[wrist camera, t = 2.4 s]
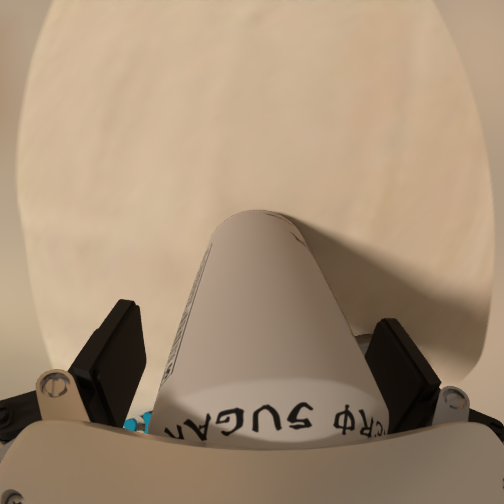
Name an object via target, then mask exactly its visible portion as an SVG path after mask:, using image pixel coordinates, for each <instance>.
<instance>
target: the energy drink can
mask: <svg viewBox="0 0 504 504" xmlns="http://www.w3.org/2000/svg"><path fill="white" fill-rule="evenodd" d="M388 426H389V411H388V409H387V406H386V404H385V402H384V400H383V397H382V395H381V393H380V391H379V388H378V386H377V384H376V382H375V379H374V377H373V375H372V373H371V371H370V369H369V366H368V364H367V362H366V360H365V358H364V356H363V354H362V351H361V349H360V347H359V345H358V343H357V341H356V339H355V337H354V335H353V333H352V331H351V329H350V327H349V325H348V323H347V321H346V319H345V317H344V315H343V313H342V311H341V309H340V307H339V305H338V303H337V301H336V299H335V297H334V295H333V293H332V291H331V289H330V287H329V285H328V283H327V281H326V279H325V278H324V276H323V274H322V272H321V270H320V268H319V266H318V264H317V262H316V261H315V259H314V257H313V255H312V253H311V251H310V250H309V248H308V246H307V244H306V242H305V240H304V239H303V237H302V235H301V233H300V232H299V230H298V229H297V228H296V227H295V225H294V224H293V223H292V222H290V221H289V220H288V219H286V218H285V217H283V216H281V215H279V214H277V213H275V212H271V211H266V210H249V211H243V212H240V213H238V214H235V215H233V216H231V217H230V218H228V219H226V220H225V221H224V222H223V223H222V224H220V225H219V226H218V227H217V229H216V230H215V232H214V233H213V235H212V236H211V239H210V241H209V244H208V246H207V249H206V251H205V254H204V257H203V260H202V262H201V265H200V268H199V271H198V273H197V276H196V279H195V282H194V285H193V287H192V290H191V293H190V296H189V299H188V302H187V305H186V307H185V310H184V313H183V316H182V319H181V322H180V325H179V328H178V331H177V334H176V337H175V340H174V343H173V346H172V349H171V353H170V356H169V359H168V362H167V365H166V368H165V371H164V375H163V378H162V381H161V384H160V388H159V391H158V394H157V398H156V401H155V404H154V408H153V411H152V415H151V418H150V422H149V425H148V434H151V435H157V436H163V437H169V438H176V439H183V440H190V441H198V442H208V443H216V444H223V445H231V446H238V447H249V448H263V449H300V448H312V447H322V446H330V445H336V444H341V443H347V442H351V441H356V440H360V439H366V438H372V437H378V436H384V435H387V431H388Z"/></svg>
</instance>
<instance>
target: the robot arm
mask: <svg viewBox="0 0 504 504" xmlns="http://www.w3.org/2000/svg"><path fill="white" fill-rule="evenodd" d="M364 358H365V360H366V362H367V364H368V366H369V369H370V371H371V373H372V375H373V377H374V379H375V382H376V384H377V386H378V388H379V391H380V393H381V395H382V397H383V400H384V402H385V404H386V406H387V409H388V411H389V426H388V431H387V435H384V436H378V437H372V438H366V439H360V440H356V441H351V442H347V443H341V444H336V445H330V446H322V447H312V448H300V449H263V448H249V447H238V446H231V445H223V444H216V443H208V442H198V441H190V440H183V439H176V438H169V437H163V436H157V435H151V434H146V433H141V432H136V431H131V430H126V429H122V428H123V425H124V423H125V420H126V417H127V414H128V411H129V409H130V406H131V403H132V401H133V398H134V395H135V393H136V390H137V387H138V385H139V382H140V379H141V377H142V374H143V372H144V369H145V366H146V353H145V346H144V339H143V331H142V323H141V315H140V307H139V306H138V305H136V304H135V302H134V301H131V300H124V299H120V300H119V301H118V302H117V303H116V305H115V306H114V308H113V309H112V310H111V312H110V313H109V315H108V316H107V317H106V319H105V320H104V322H103V323H102V324H101V326H100V327H99V329H96V330H95V331H94V332H93V334H92V335H91V337H90V338H89V340H88V341H87V343H86V344H85V346H84V347H83V349H82V350H81V351H80V353H79V354H78V356H77V357H76V359H75V361H74V362H73V364H72V365H71V367H70V368H69V370H68V371H64V370H60V369H54V370H50V371H47V372H45V373H43V374H42V375H41V376H40V377H39V378H38V380H37V382H36V390H35V391H31V392H28V393H25V394H22V395H18V396H15V397H11V398H8V399H5V400H1V401H0V504H504V426H503V424H502V423H501V422H500V421H498V420H497V419H494V418H492V417H489V416H487V415H485V414H482V413H480V412H477V411H475V410H472V409H470V408H469V407H470V403H469V398H468V396H467V395H466V393H465V392H463V391H462V390H461V389H459V388H457V387H454V386H447V387H444V388H443V389H440V388H439V386H440V384H441V383H442V382H441V381H440V379H439V378H438V376H437V375H436V373H435V372H434V370H433V369H432V368H431V366H430V365H429V363H428V362H427V360H426V359H425V357H424V356H423V355H422V353H421V352H420V350H419V349H418V348H417V346H416V345H415V343H414V342H413V341H412V339H411V338H410V337H409V335H408V334H407V333H406V331H405V330H404V328H403V327H402V326H401V324H400V323H399V322H398V320H397V319H395V318H384V319H382V320H381V321H380V322H378V323H377V325H376V328H375V330H374V333H373V336H372V338H371V341H370V343H369V346H368V349H367V351H366V354H365V356H364Z"/></svg>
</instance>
